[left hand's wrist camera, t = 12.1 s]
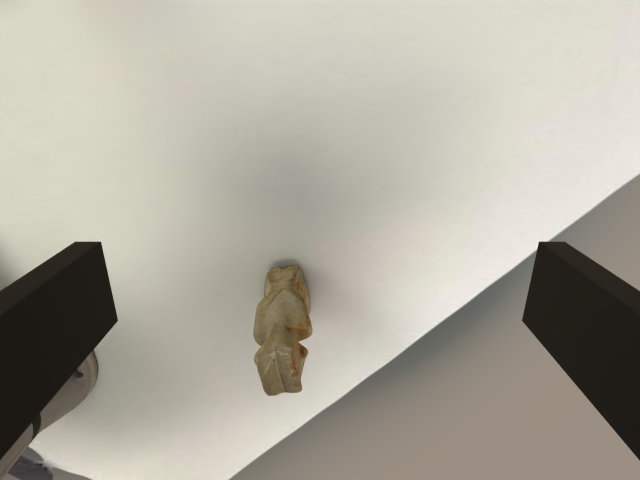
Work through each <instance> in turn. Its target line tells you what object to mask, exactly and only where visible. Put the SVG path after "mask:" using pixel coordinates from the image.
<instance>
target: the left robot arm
mask: <svg viewBox="0 0 640 480" xmlns="http://www.w3.org/2000/svg"><path fill="white" fill-rule="evenodd" d="M117 321H118V319H117V314H116V310H115V305H114V300H113V296H112V291H111V286H110V282H109V277H108V272H107V268H106V263H105V259H104V254H103V249H102V245H101V242H74V243H73V244H71V245H70V246H68V247H67V248H65V249H64V250H62V251H61V252H59V253H58V254H56V255H55V256H53V257H51V258H50V259H48V260H47V261H45V262H44V263H42V264H41V265H39V266H38V267H36V268H35V269H33V270H32V271H30V272H29V273H27V274H26V275H24V276H23V277H21V278H20V279H18V280H17V281H15V282H14V283H12V284H11V285H9V286H8V287H6V288H4V289H3V290H1V291H0V480H2V479H3V477H4V476H5V475H6V474H7V472H8V471H9V470H10V468H11V467H12V466H13V465H14V463H15V462H16V461H17V460H18V458H19V457H20V456H21V454H22V453H23V452H24V451H25V449H26V448H27V447H28V446H29V444H30V443H31V442H32V440H33V439H34V438H35V437H36V436H37V434H38V433H39V432H41V431H42V430H44V429H45V428H46V427H48V426H49V425H51V424H52V423H54V422H55V421H57V420H58V419H60V418H61V417H62V416H64V415H65V414H67V413H68V412H70V411H71V410H73V409H74V408H75V407H76V406H77V405H79V404H80V403H81V402H82V401H83V400H84V399H85V397H86V396H87V395H88V393H89V392H90V390H91V389H92V387H93V386H94V384H95V381H96V377H97V364H96V359H95V356H94V354H93V350H94V348H95V347H96V346H97V345H98V344H99V342H100V341H101V340H102V339H103V338H104V336H105V335H106V334H107V333H108V332H109V331H110V329H111V328H112V327H113V326H114V325H115V323H116V322H117ZM522 321H523V322H524V323H525V325H526V326H527V327H528V328H529V329H530V331H531V332H532V333H533V334H534V335H535V336H536V338H537V339H538V340H539V341H540V342H541V344H542V345H543V346H544V347H545V348H546V349H547V351H548V352H549V353H550V354H551V356H552V357H553V358H554V359H555V360H556V361H557V363H558V364H559V365H560V366H561V367H562V368H563V370H564V371H565V372H566V373H567V375H568V376H569V377H570V378H571V379H572V380H573V382H574V383H575V384H576V385H577V386H578V388H579V389H580V390H581V391H582V392H583V393H584V395H585V396H586V397H587V398H588V399H589V401H590V402H591V403H592V404H593V405H594V407H595V408H596V409H597V410H598V411H599V412H600V414H601V415H602V416H603V417H604V418H605V420H606V421H607V422H608V423H609V424H610V426H611V427H612V428H613V429H614V430H615V432H616V433H617V434H618V435H619V436H620V437H621V439H622V440H623V441H624V442H625V443H626V445H627V446H628V447H629V448H630V449H631V451H632V452H633V453H634V454H635V455H636V456H637V458H638V459H639V460H640V291H639V290H637V289H636V288H634V287H632V286H631V285H629V284H628V283H626V282H625V281H623V280H622V279H620V278H619V277H617V276H616V275H614V274H613V273H611V272H610V271H608V270H607V269H605V268H604V267H602V266H601V265H599V264H598V263H596V262H595V261H593V260H592V259H590V258H588V257H587V256H585V255H584V254H582V253H581V252H579V251H578V250H576V249H575V248H573V247H572V246H570V245H569V244H567V243H566V242H539V245H538V249H537V254H536V259H535V263H534V268H533V273H532V277H531V282H530V286H529V291H528V296H527V300H526V305H525V310H524V314H523V319H522Z"/></svg>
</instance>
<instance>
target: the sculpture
mask: <svg viewBox="0 0 640 480" xmlns="http://www.w3.org/2000/svg"><path fill="white" fill-rule="evenodd" d="M309 313H310V297H309V294H308V290H307V288H306V285H305V282H304V279H303V276H302V273H301V269H300V267H299V266H298V265H291V266H288V267H287V268H284V269H281V268H280V267H275V268H271V269H270V272H268V274H267V277H266V281H265V288H264V299H263V300H262V301H261V302H260V303H259V304H258V306H257V310H256V317H255V324H254V338H255V341H256V342H257V343H258V344H259V345H261V348H260V349H259V350H258V351H257V353H256V354H255V357H254V362H255V364H256V365H257V369H258V373H259V376H260V379H261V382H262V386H263V389H264V391H265V392H266V394H267V395H269V396H271V395H278V394H280V393H283V392H288V393H297V392H300V391H301V390H302V385H301V375H302V370H303V366H304V361H305V358H306V357H307V354H308V350H307V349H306V348H305V347H304V346H302V345H301V344H300V343H298V342H299V341H301V340H304V339H306V338H308V337H309V336H311V334H312V326H311V321H310V318H309Z"/></svg>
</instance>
